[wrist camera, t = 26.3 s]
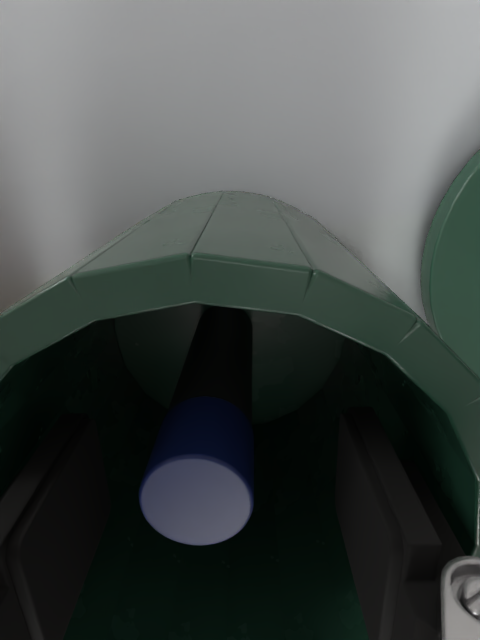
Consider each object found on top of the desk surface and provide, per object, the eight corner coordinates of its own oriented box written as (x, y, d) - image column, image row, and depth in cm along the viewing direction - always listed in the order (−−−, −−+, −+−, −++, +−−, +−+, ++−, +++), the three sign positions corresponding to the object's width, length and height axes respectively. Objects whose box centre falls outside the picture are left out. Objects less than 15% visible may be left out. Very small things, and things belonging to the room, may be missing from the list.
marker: (184, 331, 18) (114, 504, 9) (222, 291, 18) (187, 434, 8) (227, 366, 19) (202, 564, 10) (265, 328, 18) (278, 502, 9)
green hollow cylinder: (50, 330, 19) (-200, 557, 8) (221, 124, 16) (174, 67, 5) (237, 470, 22) (230, 776, 11) (414, 320, 19) (642, 544, 8)
